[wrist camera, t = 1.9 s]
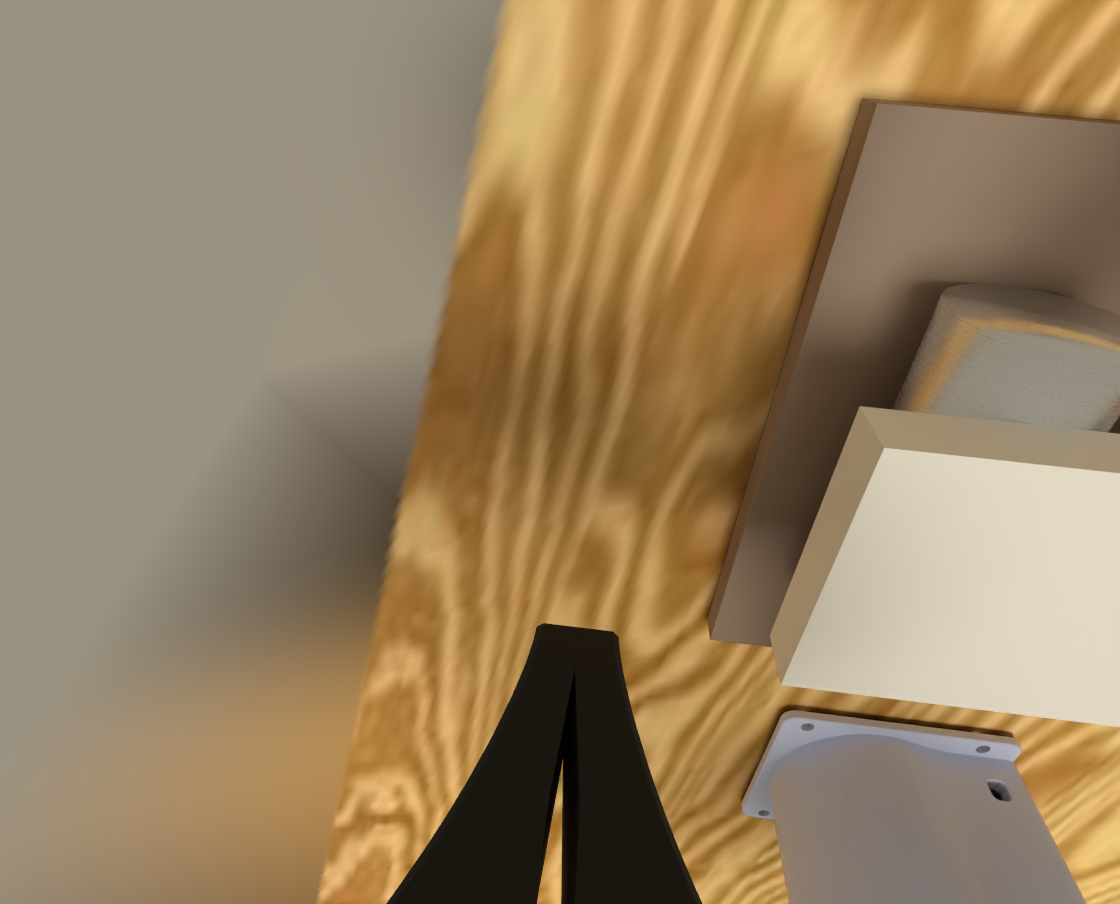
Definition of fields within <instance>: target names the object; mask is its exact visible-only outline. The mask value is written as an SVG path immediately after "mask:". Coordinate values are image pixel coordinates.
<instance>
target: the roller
mask: <svg viewBox="0 0 1120 904" xmlns="http://www.w3.org/2000/svg"><path fill="white" fill-rule="evenodd" d="M892 410H901V411H910V412H920V413H929V414H938V415H948V416H957V417H967V418H976V419H985V420H995V421H1004V422H1014V423H1023V424H1033V425H1042V426H1050V427H1057V428H1066V429H1080V430H1089V431H1098V432H1108V433H1109V431H1110V430H1111V428H1112V427H1113V425H1114V424H1115V422H1116V421H1117V419H1118V418H1119V416H1120V315H1117V314H1115V313H1113V312H1110V311H1107V310H1105V309H1102V308H1099V307H1096V306H1093V305H1090V304H1087V303H1084V302H1081V301H1078V300H1074V299H1071V298H1067V297H1063V296H1059V295H1055V294H1051V293H1047V292H1042V291H1037V290H1032V289H1026V288H1021V287H1014V286H1006V285H996V284H962V285H956V286H952V287H949V288H947V289H945V290H944V291H943V292H942V294H941V297H940V299H939V301H938V304H937V306H936V308H935V311H934V313H933V315H932V318H931V320H930V322H929V325H928V327H927V329H926V332H925V334H924V336H923V339H922V341H921V343H920V346H919V348H918V350H917V353H916V355H915V357H914V360H913V362H912V364H911V367H910V369H909V371H908V374H907V376H906V378H905V381H904V383H903V386H902V388H901V390H900V393H899V395H898V397H897V400H896V402H895V404H894V407H893V409H892Z"/></svg>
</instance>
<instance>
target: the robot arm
mask: <svg viewBox="0 0 1120 904" xmlns="http://www.w3.org/2000/svg"><path fill="white" fill-rule="evenodd" d="M1021 751H1022V749H1021V747H1020V745H1019V743H1018V741H1017V740H1016V739H1014V738H1011V737H1005V736H997V735H989V734H981V733H973V732H965V731H957V730H949V729H942V728H934V727H926V726H918V725H910V724H902V723H894V722H886V721H878V720H870V719H862V718H854V717H846V716H838V715H830V714H822V713H814V712H806V711H798V710H791V711H787V712H785V713H783V715H782V716H781V717H780V720H779V722H778V724H777V726H776V728H775V731H774V733H773V735H772V737H771V739H770V742H769V744H768V746H767V748H766V750H765V753H764V755H763V757H762V759H761V761H760V764H759V766H758V768H757V770H756V772H755V774H754V777H753V779H752V781H751V783H750V785H749V788H748V790H747V792H746V794H745V796H744V799H743V801H742V804H741V806H742V812H743V813H744V814H745V815H747V816H750V817H758V818H765V819H773V820H774V822H775V827H776V833H777V839H778V844H779V850H780V855H781V861H782V867H783V872H784V878H785V883H786V889H787V895H788V900H789V904H1087V903H1086V902H1085V900H1084V898H1083V896H1082V894H1081V892H1080V890H1079V888H1078V886H1077V884H1076V882H1075V880H1074V878H1073V876H1072V874H1071V872H1070V870H1069V869H1068V867H1067V865H1066V863H1065V861H1064V859H1063V857H1062V855H1061V853H1060V851H1059V849H1058V847H1057V845H1056V843H1055V841H1054V839H1053V838H1052V836H1051V834H1050V832H1049V830H1048V828H1047V826H1046V824H1045V822H1044V820H1043V818H1042V816H1041V814H1040V812H1039V810H1038V808H1037V807H1036V805H1035V803H1034V801H1033V799H1032V797H1031V795H1030V793H1029V791H1028V789H1027V787H1026V785H1025V783H1024V781H1023V779H1022V777H1021V776H1020V774H1019V772H1018V770H1017V768H1016V766H1015V764H1014V762H1013V761H1014V760H1015V759H1016V758H1017V757H1018V756H1019V754H1020V753H1021ZM562 761H563V809H562V898H561V904H702V902H701V900H700V898H699V895H698V893H697V891H696V889H695V886H694V884H693V882H692V879H691V877H690V875H689V872H688V870H687V868H686V865H685V863H684V861H683V858H682V856H681V853H680V851H679V848H678V846H677V843H676V841H675V838H674V836H673V833H672V831H671V828H670V826H669V823H668V820H667V818H666V815H665V812H664V809H663V807H662V804H661V801H660V798H659V796H658V793H657V790H656V787H655V785H654V782H653V779H652V776H651V773H650V770H649V767H648V764H647V760H646V757H645V754H644V750H643V747H642V744H641V741H640V737H639V734H638V731H637V727H636V724H635V720H634V717H633V713H632V709H631V705H630V701H629V697H628V692H627V688H626V684H625V679H624V674H623V669H622V663H621V657H620V650H619V639H618V636H617V635H616V634H615V633H614V632H611V631H603V630H595V629H586V628H578V627H570V626H562V625H553V624H545V623H543V624H541V625H540V626H538V627H537V628H536V633H535V637H534V640H533V644H532V647H531V650H530V653H529V656H528V659H527V661H526V664H525V667H524V669H523V672H522V674H521V676H520V679H519V681H518V683H517V686H516V688H515V690H514V693H513V695H512V697H511V699H510V701H509V703H508V705H507V707H506V709H505V712H504V714H503V716H502V718H501V720H500V722H499V724H498V726H497V728H496V730H495V732H494V734H493V736H492V738H491V740H490V742H489V743H488V745H487V747H486V749H485V751H484V752H483V754H482V756H481V758H480V760H479V761H478V763H477V765H476V767H475V768H474V770H473V772H472V774H471V776H470V777H469V779H468V781H467V783H466V784H465V786H464V788H463V789H462V791H461V793H460V794H459V796H458V798H457V799H456V801H455V803H454V804H453V806H452V808H451V809H450V811H449V812H448V814H447V816H446V817H445V819H444V820H443V822H442V823H441V825H440V827H439V828H438V830H437V831H436V833H435V834H434V836H433V837H432V839H431V840H430V842H429V843H428V845H427V846H426V848H425V849H424V851H423V852H422V854H421V855H420V857H419V858H418V860H417V861H416V862H415V864H414V865H413V867H412V868H411V870H410V871H409V873H408V874H407V875H406V877H405V878H404V880H403V881H402V883H401V884H400V885H399V887H398V888H397V890H396V891H395V893H394V894H393V895H392V897H391V898H390V900H389V901H388V902H387V904H537V898H538V892H539V886H540V881H541V875H542V870H543V865H544V859H545V854H546V848H547V843H548V837H549V832H550V826H551V821H552V815H553V810H554V805H555V799H556V794H557V788H558V783H559V777H560V772H561V766H562Z"/></svg>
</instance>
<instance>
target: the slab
mask: <svg viewBox="0 0 1120 904" xmlns="http://www.w3.org/2000/svg"><path fill="white" fill-rule="evenodd" d="M770 639H771V644H772V648H773V653H774V657H775V662H776V666H777V671H778V675H779V680H780V684H781V685H784V686H792V687H800V688H808V689H816V690H824V691H832V692H841V693H849V694H857V695H865V696H873V697H881V698H889V699H897V700H905V701H913V702H922V703H930V704H938V705H946V706H954V707H962V708H970V709H978V710H986V711H994V712H1002V713H1011V714H1019V715H1027V716H1035V717H1043V718H1051V719H1059V720H1067V721H1075V722H1083V723H1092V724H1100V725H1108V726H1116V727H1120V434H1117V433H1108V432H1098V431H1089V430H1080V429H1066V428H1057V427H1050V426H1042V425H1033V424H1023V423H1014V422H1004V421H995V420H985V419H976V418H967V417H957V416H948V415H938V414H929V413H920V412H910V411H901V410H891V409H882V408H873V407H863V406H860V407H859V409H858V412H857V414H856V417H855V419H854V422H853V425H852V427H851V430H850V432H849V435H848V437H847V440H846V442H845V445H844V447H843V450H842V453H841V455H840V458H839V460H838V463H837V465H836V468H835V470H834V473H833V476H832V478H831V481H830V483H829V486H828V488H827V491H826V493H825V496H824V499H823V501H822V504H821V506H820V509H819V511H818V514H817V516H816V519H815V521H814V524H813V527H812V529H811V532H810V534H809V537H808V539H807V542H806V544H805V547H804V550H803V552H802V555H801V557H800V560H799V562H798V565H797V567H796V570H795V573H794V575H793V578H792V580H791V583H790V585H789V588H788V590H787V593H786V596H785V598H784V601H783V603H782V606H781V608H780V611H779V613H778V616H777V618H776V621H775V624H774V626H773V629H772V631H771V634H770Z"/></svg>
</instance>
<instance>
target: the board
mask: <svg viewBox="0 0 1120 904" xmlns="http://www.w3.org/2000/svg"><path fill="white" fill-rule="evenodd" d="M962 284H996V285H1006V286H1014V287H1021V288H1026V289H1032V290H1037V291H1042V292H1047V293H1051V294H1055V295H1059V296H1063V297H1067V298H1071V299H1074V300H1078V301H1081V302H1084V303H1087V304H1090V305H1093V306H1096V307H1099V308H1102V309H1105V310H1107V311H1110V312H1113V313H1115V314H1117V315H1120V121H1114V120H1102V119H1091V118H1080V117H1068V116H1057V115H1046V114H1034V113H1023V112H1012V111H1000V110H989V109H978V108H966V107H955V106H944V105H932V104H921V103H910V102H898V101H887V100H876V99H864V98H863V100H862V103H861V106H860V110H859V113H858V116H857V120H856V123H855V126H854V130H853V133H852V136H851V140H850V143H849V147H848V150H847V153H846V157H845V160H844V163H843V167H842V170H841V173H840V177H839V180H838V183H837V187H836V190H835V193H834V197H833V200H832V203H831V207H830V210H829V213H828V217H827V220H826V223H825V227H824V230H823V233H822V237H821V240H820V243H819V247H818V250H817V253H816V257H815V260H814V264H813V267H812V270H811V274H810V277H809V280H808V284H807V287H806V290H805V294H804V297H803V300H802V304H801V307H800V310H799V314H798V317H797V320H796V324H795V327H794V330H793V334H792V337H791V340H790V344H789V347H788V350H787V354H786V357H785V360H784V364H783V367H782V370H781V374H780V377H779V381H778V384H777V387H776V391H775V394H774V397H773V401H772V404H771V407H770V411H769V414H768V417H767V421H766V424H765V427H764V431H763V434H762V437H761V441H760V444H759V447H758V451H757V454H756V457H755V461H754V464H753V467H752V471H751V474H750V477H749V481H748V484H747V487H746V491H745V494H744V498H743V501H742V504H741V508H740V511H739V514H738V518H737V521H736V524H735V528H734V531H733V534H732V538H731V541H730V544H729V548H728V551H727V554H726V558H725V561H724V564H723V568H722V571H721V574H720V578H719V581H718V584H717V588H716V591H715V594H714V598H713V601H712V604H711V608H710V611H709V615H708V626H709V634H710V640H718V641H726V642H734V643H743V644H751V645H759V646H767V647H772V644H771V639H770V634H771V631H772V629H773V626H774V624H775V621H776V618H777V616H778V613H779V611H780V608H781V606H782V603H783V601H784V598H785V596H786V593H787V590H788V588H789V585H790V583H791V580H792V578H793V575H794V573H795V570H796V567H797V565H798V562H799V560H800V557H801V555H802V552H803V550H804V547H805V544H806V542H807V539H808V537H809V534H810V532H811V529H812V527H813V524H814V521H815V519H816V516H817V514H818V511H819V509H820V506H821V504H822V501H823V499H824V496H825V493H826V491H827V488H828V486H829V483H830V481H831V478H832V476H833V473H834V470H835V468H836V465H837V463H838V460H839V458H840V455H841V453H842V450H843V447H844V445H845V442H846V440H847V437H848V435H849V432H850V430H851V427H852V425H853V422H854V419H855V417H856V414H857V412H858V409H859V407H860V406H863V407H873V408H882V409H891V410H892V409H893V407H894V404H895V402H896V400H897V397H898V395H899V393H900V390H901V388H902V386H903V383H904V381H905V378H906V376H907V374H908V371H909V369H910V367H911V364H912V362H913V360H914V357H915V355H916V353H917V350H918V348H919V346H920V343H921V341H922V339H923V336H924V334H925V332H926V329H927V327H928V325H929V322H930V320H931V318H932V315H933V313H934V311H935V308H936V306H937V304H938V301H939V299H940V297H941V294H942V292H943V291H944V290H945V289H947V288H949V287H952V286H956V285H962ZM1109 433H1117V434H1120V416H1119V418H1118V419H1117V421H1116V422H1115V424H1114V425H1113V427H1112V428H1111V430H1110V431H1109Z"/></svg>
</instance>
